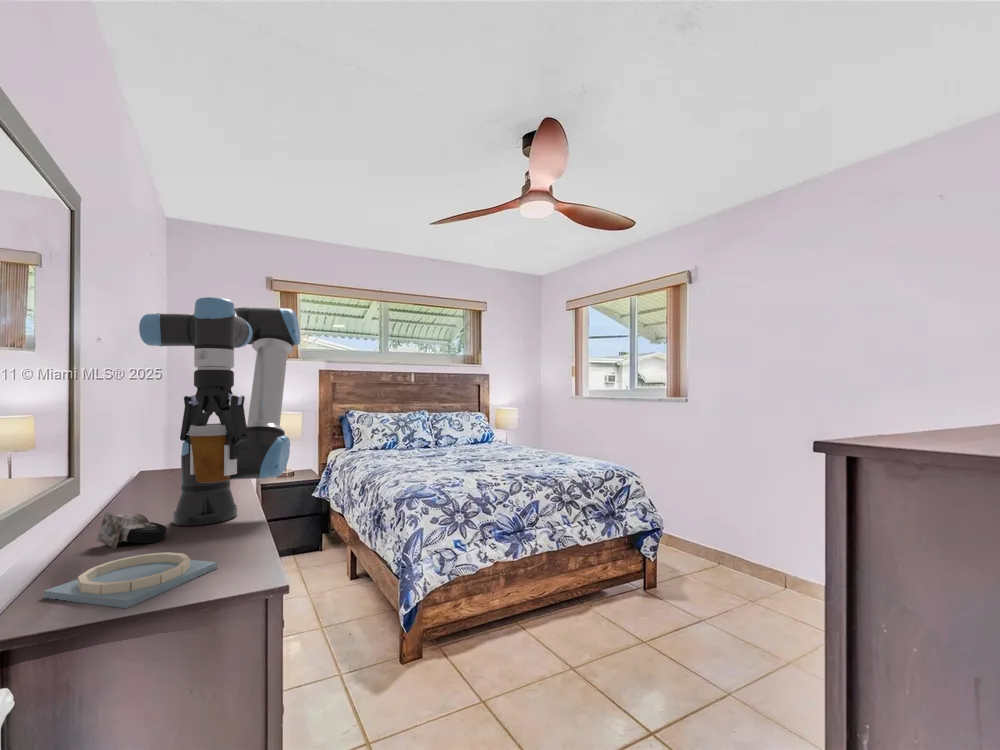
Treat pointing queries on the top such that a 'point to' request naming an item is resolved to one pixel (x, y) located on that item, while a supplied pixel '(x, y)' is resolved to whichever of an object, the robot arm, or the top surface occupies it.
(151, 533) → the caster wheel
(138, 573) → the collar base
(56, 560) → the top surface
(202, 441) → the disposable coffee cup
